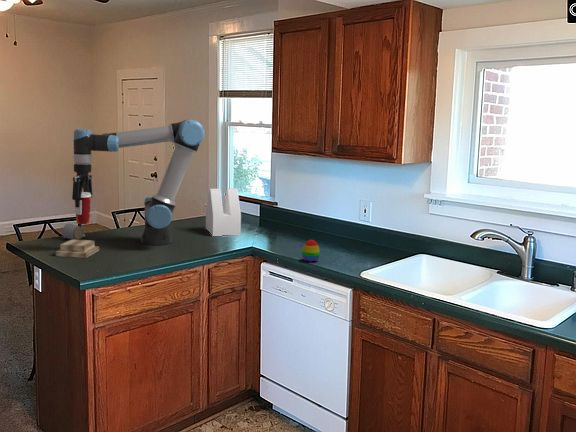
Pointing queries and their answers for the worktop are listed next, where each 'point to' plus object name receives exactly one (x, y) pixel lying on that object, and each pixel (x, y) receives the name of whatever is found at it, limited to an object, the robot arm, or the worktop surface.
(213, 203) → the white slotted block
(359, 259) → the worktop surface
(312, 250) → the decorative egg
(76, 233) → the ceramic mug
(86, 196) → the paper cup
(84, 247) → the maple pedestal
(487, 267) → the worktop surface
